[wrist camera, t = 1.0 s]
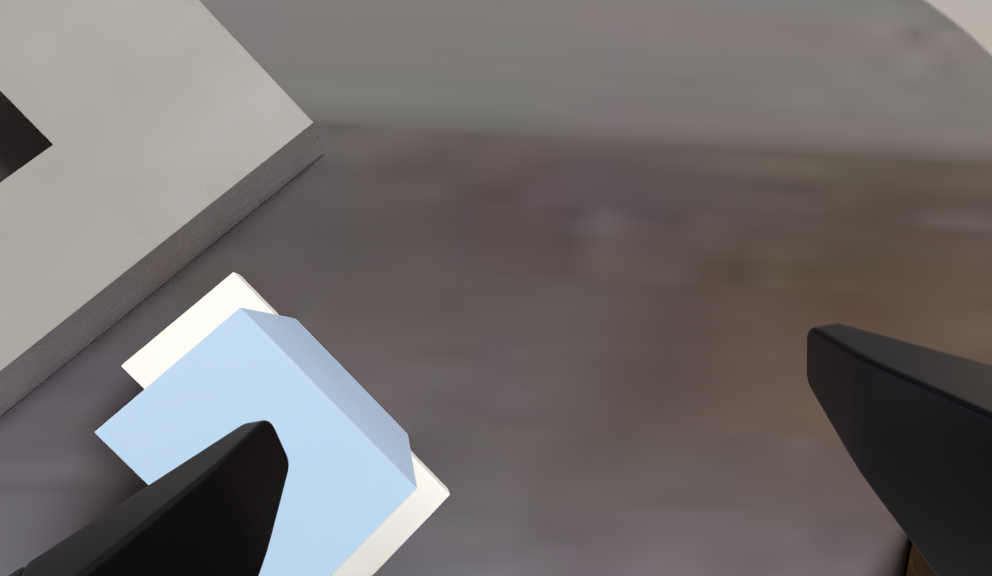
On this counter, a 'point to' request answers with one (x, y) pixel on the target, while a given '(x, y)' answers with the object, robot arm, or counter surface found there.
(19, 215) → the white flat slab
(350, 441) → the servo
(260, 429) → the robot arm
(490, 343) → the counter surface
